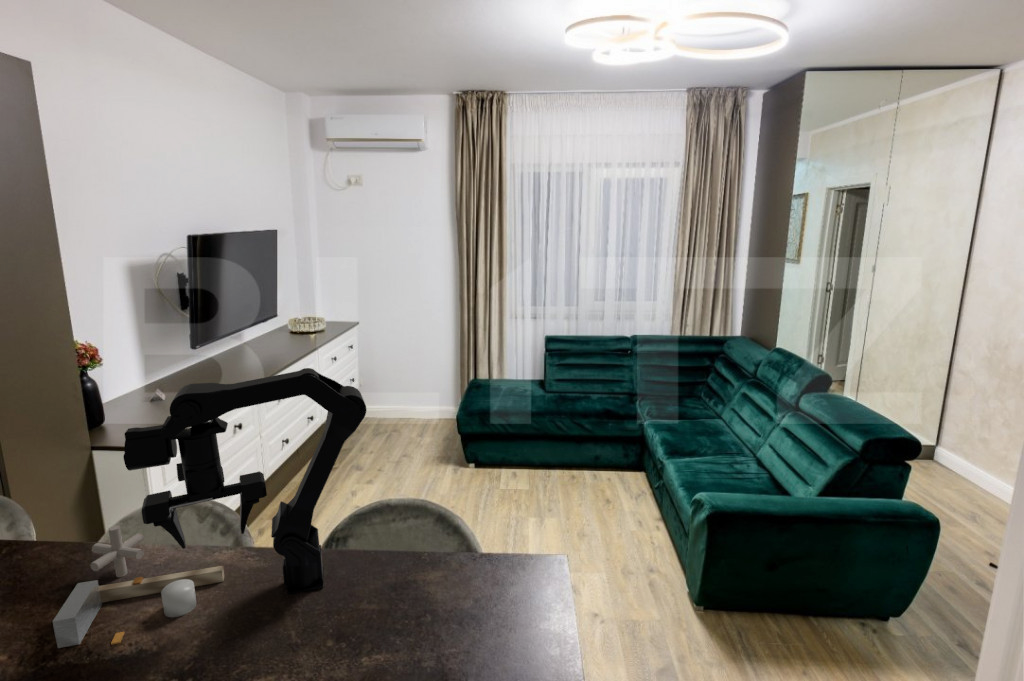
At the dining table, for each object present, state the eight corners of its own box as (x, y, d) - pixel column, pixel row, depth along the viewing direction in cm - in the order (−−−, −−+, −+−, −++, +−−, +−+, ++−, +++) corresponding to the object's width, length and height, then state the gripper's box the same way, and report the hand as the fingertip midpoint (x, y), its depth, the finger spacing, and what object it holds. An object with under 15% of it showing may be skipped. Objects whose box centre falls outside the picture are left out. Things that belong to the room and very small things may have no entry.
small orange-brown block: (124, 633, 95) (124, 631, 95) (119, 643, 93) (119, 641, 93) (116, 634, 95) (115, 633, 95) (111, 644, 92) (110, 643, 92)
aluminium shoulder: (102, 604, 102) (97, 580, 101) (79, 644, 92) (74, 617, 91) (82, 608, 101) (77, 583, 100) (57, 648, 92) (52, 621, 90)
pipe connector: (121, 594, 105) (113, 545, 102) (76, 587, 106) (67, 539, 104) (164, 562, 114) (157, 517, 112) (122, 556, 116) (114, 511, 114)
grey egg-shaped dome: (199, 596, 104) (196, 576, 103) (193, 614, 100) (190, 594, 99) (168, 601, 103) (165, 582, 102) (160, 620, 98) (157, 599, 97)
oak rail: (224, 576, 110) (222, 563, 109) (222, 581, 108) (221, 568, 108) (90, 599, 103) (88, 585, 103) (87, 605, 102) (84, 591, 101)
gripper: (256, 431, 108) (267, 506, 112) (141, 452, 100) (156, 532, 104) (261, 453, 99) (272, 533, 102) (134, 478, 90) (150, 565, 94)
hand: (214, 539), depth 101 cm, fingers open, 9 cm apart
